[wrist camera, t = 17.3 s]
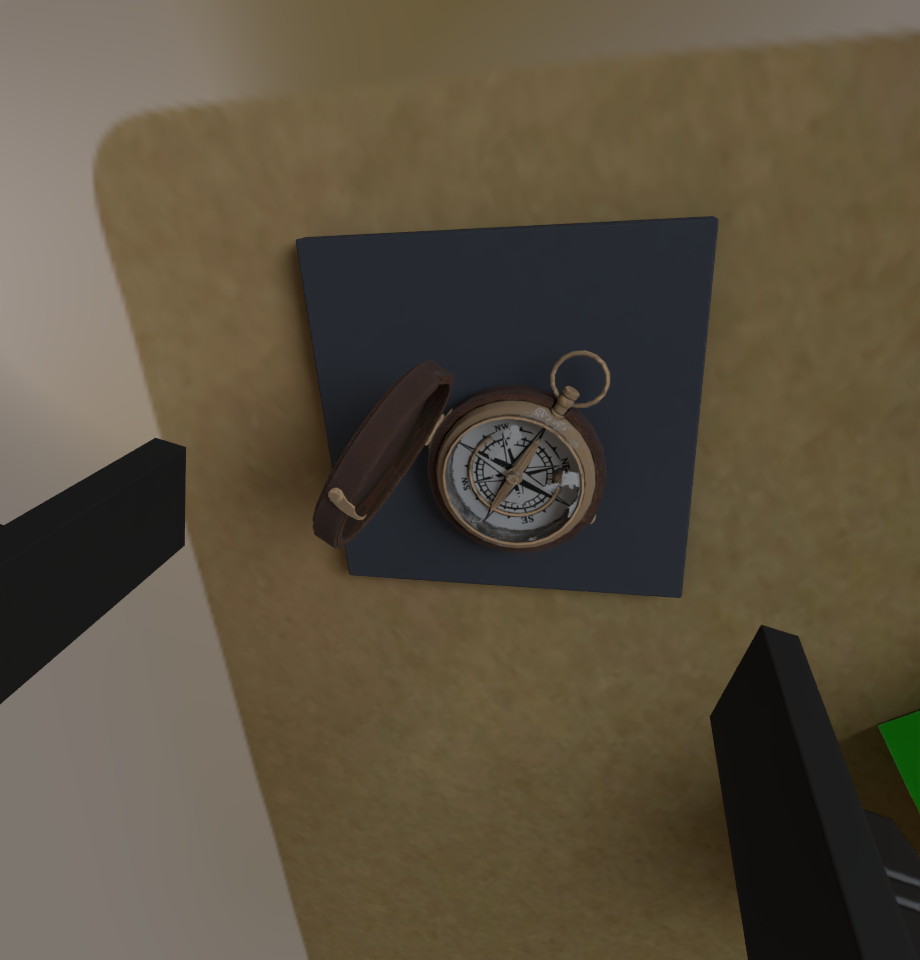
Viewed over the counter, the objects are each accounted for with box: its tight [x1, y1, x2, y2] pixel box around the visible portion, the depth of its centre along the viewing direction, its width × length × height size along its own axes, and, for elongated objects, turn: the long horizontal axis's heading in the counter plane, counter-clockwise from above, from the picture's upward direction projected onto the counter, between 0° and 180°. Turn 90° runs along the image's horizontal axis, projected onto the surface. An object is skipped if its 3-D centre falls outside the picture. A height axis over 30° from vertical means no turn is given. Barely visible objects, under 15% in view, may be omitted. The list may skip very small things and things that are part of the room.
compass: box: [313, 351, 610, 553], centre depth 19 cm, size 8×8×7 cm
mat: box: [296, 216, 718, 598], centre depth 23 cm, size 13×13×1 cm
